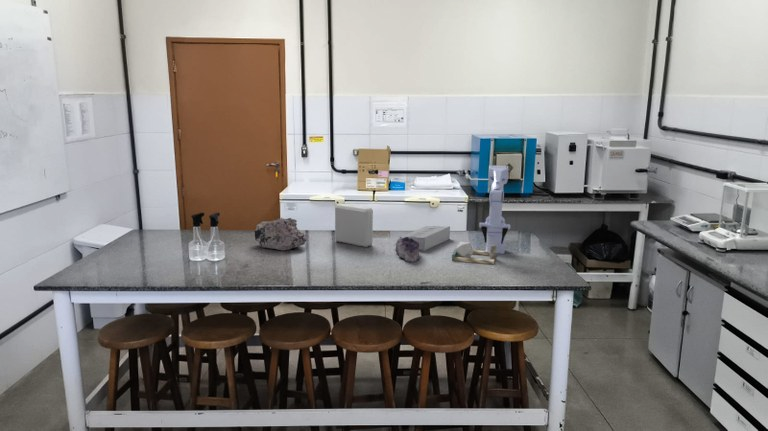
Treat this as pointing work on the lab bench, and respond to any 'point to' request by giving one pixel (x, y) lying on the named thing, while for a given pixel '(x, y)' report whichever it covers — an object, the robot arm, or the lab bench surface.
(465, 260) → the tan frame
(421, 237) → the long grey block
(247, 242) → the lab bench surface
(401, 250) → the geode
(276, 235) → the mineral sample
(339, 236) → the grey thick block
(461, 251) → the die
